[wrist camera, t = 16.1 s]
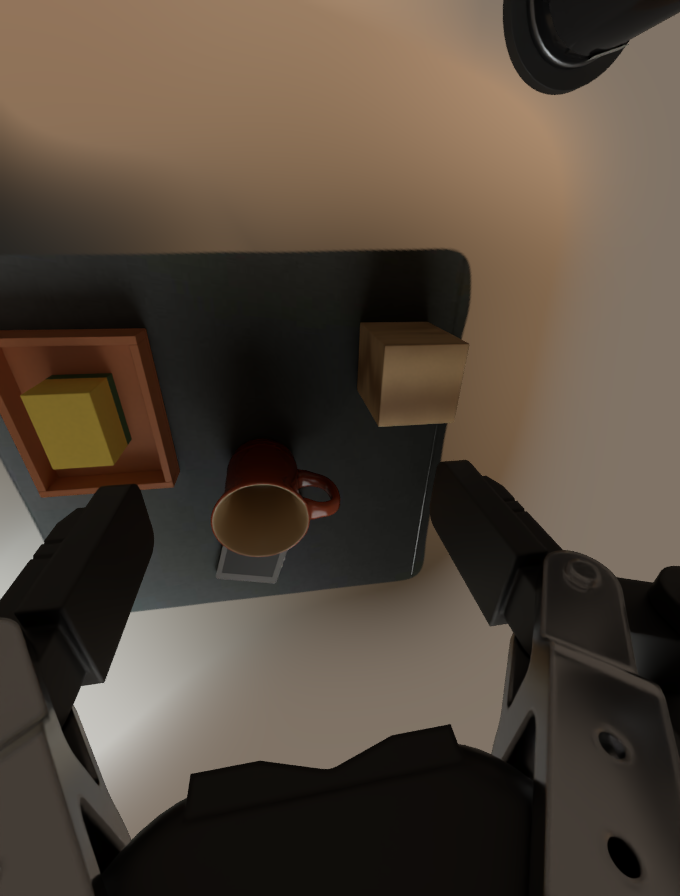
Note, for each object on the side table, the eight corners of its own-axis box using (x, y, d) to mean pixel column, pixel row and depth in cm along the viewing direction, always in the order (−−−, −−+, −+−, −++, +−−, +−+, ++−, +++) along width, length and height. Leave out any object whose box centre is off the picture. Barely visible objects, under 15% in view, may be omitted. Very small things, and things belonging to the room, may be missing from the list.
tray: (-11, 330, 31) (-37, 338, 28) (146, 328, 33) (135, 336, 30) (56, 479, 38) (40, 497, 36) (180, 471, 40) (173, 487, 38)
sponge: (51, 374, 33) (19, 395, 28) (111, 372, 33) (88, 392, 29) (78, 442, 36) (52, 469, 32) (132, 439, 37) (114, 465, 33)
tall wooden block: (360, 322, 35) (385, 345, 28) (427, 321, 37) (469, 343, 29) (357, 389, 39) (378, 427, 31) (418, 387, 40) (454, 422, 32)
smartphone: (276, 580, 51) (276, 584, 51) (216, 575, 49) (215, 579, 48) (304, 496, 45) (305, 499, 44) (236, 485, 42) (236, 489, 42)
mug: (228, 496, 43) (217, 561, 34) (218, 430, 39) (203, 486, 30) (328, 488, 45) (342, 549, 36) (329, 425, 41) (346, 476, 32)
